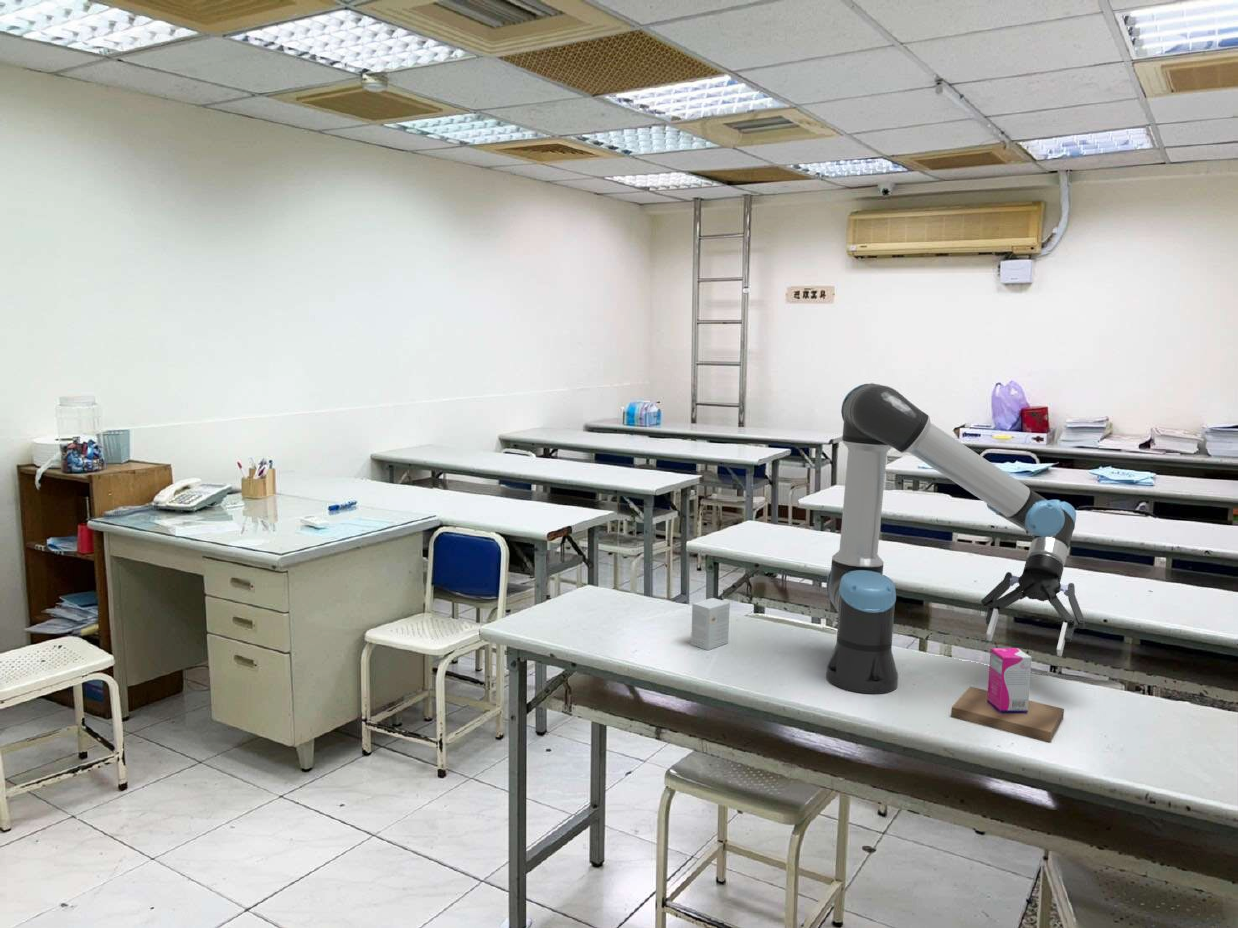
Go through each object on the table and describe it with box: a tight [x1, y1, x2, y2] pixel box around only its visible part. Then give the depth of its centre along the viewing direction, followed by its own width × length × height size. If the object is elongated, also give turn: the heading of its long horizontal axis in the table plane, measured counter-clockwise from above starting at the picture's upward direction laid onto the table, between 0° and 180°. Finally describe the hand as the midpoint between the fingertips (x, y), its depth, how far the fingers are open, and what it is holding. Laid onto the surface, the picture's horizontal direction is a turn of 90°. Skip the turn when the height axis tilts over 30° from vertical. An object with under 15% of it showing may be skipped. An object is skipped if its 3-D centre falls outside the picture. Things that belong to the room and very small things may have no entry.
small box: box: [690, 597, 731, 651], centre depth 210 cm, size 8×6×10 cm
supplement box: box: [987, 647, 1032, 713], centre depth 171 cm, size 6×6×12 cm
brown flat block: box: [950, 686, 1065, 743], centre depth 171 cm, size 18×14×2 cm
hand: (1023, 645), depth 180 cm, fingers open, 13 cm apart
